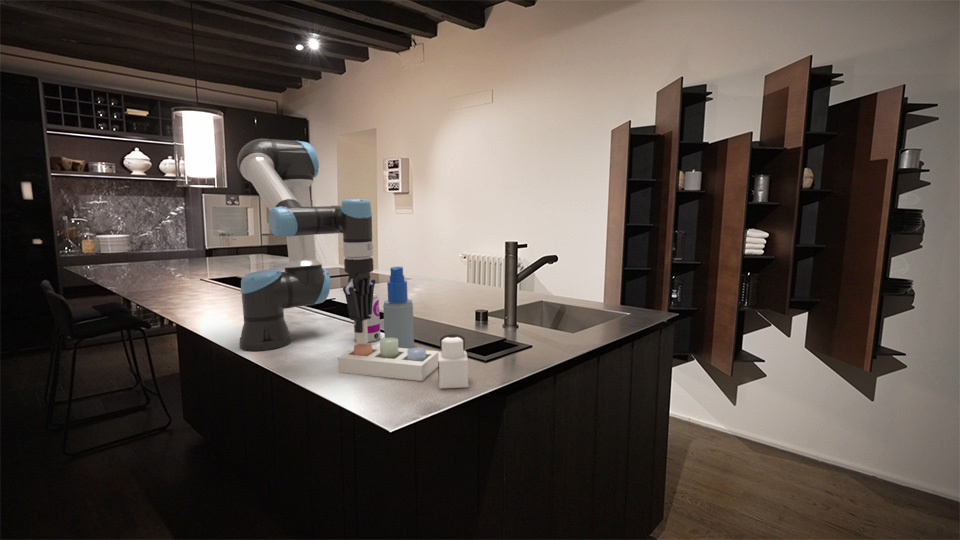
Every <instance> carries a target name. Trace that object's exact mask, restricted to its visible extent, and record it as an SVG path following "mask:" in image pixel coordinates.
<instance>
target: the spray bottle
mask: <svg viewBox="0 0 960 540" xmlns="http://www.w3.org/2000/svg"><path fill="white" fill-rule="evenodd" d="M386 284H387V285H386V286H387V299H386V300H384V301H383V328H384V330H383V331H384V338H397V339H398V348H407V349H411V348H415V336H414V332H415V331H414V308H413V307H414V303H413V300H411V299H410V298H409V299H408V280H405V275H404V266H393V267H392V266H391V267H390V275H389V280H388V281H387V282H386Z"/></svg>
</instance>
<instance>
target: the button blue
mask: <svg viewBox="0 0 960 540" xmlns="http://www.w3.org/2000/svg"><path fill="white" fill-rule="evenodd" d="M426 350H427V349H426V348H423V347H414V348H411V349H408V350H407V354H408V360H411V361H421V362H423V361H424V360H425V359H426Z"/></svg>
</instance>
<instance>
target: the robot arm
mask: <svg viewBox="0 0 960 540" xmlns="http://www.w3.org/2000/svg"><path fill="white" fill-rule="evenodd" d="M236 161H237V164H236V165H237V168H238V171H239V173H240V174H241V176H242V177H243V178H244V179H245V180H246V181H248V182H250V183H251V184H252V186H253V187H254V188H255V190H256V192H257V193H258V194H259V196H260V197H261V199H262V201H263V202H264V204H265V205H266V207H267V209H268V210H269V212H268V226H269V228H270V232H271V233H272V235H274V236H277V237H286V245H287V255H288V256H287V257H288V261H287V263H286V264H285V266H284V272H282V271H281V269H279V268H270V269H262V270H257V271H253V272H250V273H248V274H245V275H244V276H242V278H241V280H240V293H241V302H242V313H243V314H242V315H243V324H242V325H243V326H242V330H241V333H240V338H239V348H240V350H244V351H251V352H253V351H254V352H259V351H261V352H262V351H268V350H270V351H271V350H274V349H275V350H276V349H279V348H282V347H283V348H284V347H285V346H288V345H289V344H291V343H292V333H291V332H290V330H289V328H288V324H287V322H286V320H285V316H284V315H285V312H284V310H286V309H291V308H298V307H305V306H314V305H317V304H322V303H324V302H325V301H326V300H327V299H328V297H329V295H330V290H331V276H330V275H329V274H330V273H329V271H328V270H327V269H326V268H323V266H322V262H320V261H319V260H318V259H317V254H316V253H317V250H316V243H315V242H316V241H315V240H316V239H315V236H316V235H331V234H342V240H343V242H342V244H343V247H342V248H343V256H344V257H345V258H344V260H343V263H344V265H343V266H344V272H345V273H346V274H348V280H347V281H348V284H347V286H343V287H342V291H343V293H344V295H345V300H346V305H347V311H348V316H349V319H350V320H351V321H353V322H354V321H355V324H356V339H355V340H356V343H355V344H367V343H369V342H368V329H367V319H371V316H369V315H371V314H372V304H373V293H375V292H374V290H375V286H376V285H375V284H376V279H372V278H371V274H370V273H372V272H373V271H374V258H373V257H372V256H373V255H374V253H373V252H374V251H373V249H374V245H373V219H372V217H373V212H372V205H371V201H370V199H367V198H362V199H361V198H358V199H357V198H348V199H347V198H345V199H343V200H342V201H341V205H326V206H324V205H323V206H313V205H312V201H311V192H310V190H311V189H310V186H311V185H313V183H314V178H316V177H317V176H318V174H319V169H320V161H319V158H318V154H317V152H316V149H315V148H314V146H313V145H311V144H310V143H309V142H306V141H300V140H289V139H273V138H271V139H270V138H258V139H257V138H255V139H254V140H251V141H249V142H248V143H246V144H245V145H244V146H243V147H242V148H241V149H240V151H239V153H238V155H237V160H236Z"/></svg>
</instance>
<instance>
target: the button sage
mask: <svg viewBox="0 0 960 540" xmlns="http://www.w3.org/2000/svg"><path fill="white" fill-rule="evenodd" d="M379 346H380V358H390V359H395V358H397V357H398V356H399V354H398V339H397V338H385V337H384V338H381V339H380V340H379Z"/></svg>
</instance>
